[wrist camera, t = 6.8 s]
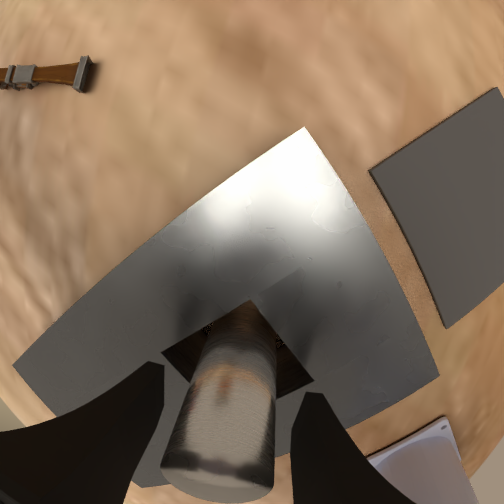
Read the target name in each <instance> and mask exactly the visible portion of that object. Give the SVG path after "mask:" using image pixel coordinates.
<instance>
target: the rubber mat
mask: <svg viewBox="0 0 504 504" xmlns="http://www.w3.org/2000/svg"><path fill="white" fill-rule="evenodd" d="M369 173H370V175H371V176H372V178H373V180H374V181H375V183H376V185H377V186H378V188H379V190H380V192H381V193H382V195H383V197H384V199H385V200H386V202H387V204H388V206H389V208H390V209H391V211H392V213H393V215H394V217H395V219H396V221H397V223H398V224H399V226H400V228H401V230H402V232H403V234H404V236H405V238H406V240H407V242H408V244H409V246H410V248H411V250H412V252H413V254H414V257H415V259H416V261H417V263H418V265H419V267H420V269H421V272H422V274H423V276H424V278H425V281H426V283H427V285H428V288H429V290H430V292H431V295H432V297H433V300H434V302H435V305H436V307H437V310H438V312H439V315H440V317H441V320H442V322H443V325H444V327H445V328H446V329H448V328H449V327H450V326H452V325H453V324H454V323H456V322H457V321H458V320H460V319H461V318H462V317H464V316H465V315H466V314H467V313H469V312H470V311H471V310H472V309H474V308H475V307H476V306H477V305H478V304H480V303H481V302H482V301H483V300H484V299H485V298H487V297H488V296H489V295H490V294H491V293H492V292H494V291H495V290H496V289H497V288H498V287H499V286H500V285H501V284H502V283H504V98H503V96H502V94H501V93H500V91H499V89H498V87H495V88H493V89H491V90H490V91H488V92H487V93H485V94H484V95H482V96H481V97H479V98H477V99H476V100H474V101H473V102H471V103H470V104H468V105H467V106H465V107H464V108H462V109H461V110H459V111H458V112H456V113H455V114H453V115H452V116H450V117H449V118H447V119H446V120H444V121H443V122H441V123H440V124H438V125H437V126H435V127H433V128H432V129H430V130H429V131H427V132H426V133H424V134H423V135H421V136H420V137H418V138H417V139H415V140H414V141H412V142H411V143H409V144H408V145H406V146H405V147H403V148H402V149H400V150H399V151H397V152H396V153H394V154H393V155H391V156H390V157H388V158H387V159H385V160H384V161H382V162H381V163H379V164H378V165H376V166H375V167H373V168H372V169H370V170H369Z"/></svg>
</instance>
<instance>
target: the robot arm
mask: <svg viewBox="0 0 504 504" xmlns="http://www.w3.org/2000/svg"><path fill="white" fill-rule="evenodd" d="M164 376H165V365H162V364H158V363H154V362H151V361H147V362H146V363H144V364H143V365H142V366H140V367H139V368H138V369H137V370H135V371H134V372H133V373H131V374H130V375H129V376H127V377H126V378H125V379H123V380H122V381H121V382H119V383H118V384H116V385H115V386H113V387H112V388H110V389H109V390H108V391H106V392H104V393H103V394H101V395H100V396H98V397H96V398H95V399H93V400H91V401H90V402H88V403H86V404H84V405H83V406H81V407H79V408H77V409H75V410H73V411H71V412H68V413H66V414H64V415H62V416H59V417H56V418H54V419H51V420H48V421H45V422H42V423H40V424H36V425H33V426H29V427H25V428H20V429H16V430H10V431H4V432H0V504H123V502H124V499H125V496H126V493H127V490H128V487H129V484H130V481H131V479H132V477H133V474H134V472H135V470H136V468H137V466H138V464H139V462H140V460H141V458H142V456H143V454H144V452H145V450H146V448H147V446H148V444H149V442H150V440H151V438H152V436H153V434H154V432H155V430H156V428H157V425H158V422H159V420H160V417H161V414H162V411H163V408H164ZM290 459H291V473H292V486H293V500H294V504H479V502H478V500H477V497H476V495H475V493H474V490H473V488H472V486H471V484H470V481H469V479H468V477H467V475H466V473H465V470H464V468H463V466H462V464H461V462H460V461H461V457H460V454H459V451H458V448H457V444H456V441H455V438H454V435H453V432H452V430H451V427H450V424H449V421H448V419H447V417H441V418H440V419H438V420H436V421H435V422H433V423H432V424H430V425H428V426H427V427H425V428H423V429H422V430H420V431H418V432H416V433H415V434H413V435H411V436H409V437H407V438H406V439H404V440H402V441H400V442H398V443H396V444H394V445H392V446H390V447H388V448H386V449H384V450H382V451H380V452H378V453H376V454H374V455H372V456H370V457H368V458H366V457H365V456H364V455H363V454H362V452H361V451H360V450H359V449H358V447H357V446H356V445H355V443H354V442H353V440H352V439H351V437H350V436H349V435H348V433H347V432H346V430H345V429H344V427H343V426H342V424H341V422H340V421H339V419H338V418H337V416H336V414H335V413H334V411H333V409H332V408H331V406H330V404H329V403H328V401H327V399H326V398H325V396H324V394H323V393H315V392H306V393H305V395H304V398H303V401H302V403H301V406H300V408H299V411H298V413H297V416H296V419H295V421H294V424H293V426H292V428H291V444H290Z"/></svg>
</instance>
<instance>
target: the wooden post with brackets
mask: <svg viewBox="0 0 504 504" xmlns="http://www.w3.org/2000/svg"><path fill="white" fill-rule="evenodd" d="M92 63H93V62H92V61H91V59H90V57H89V56H84V57H83V56H81V59H80V62H78V63H72V64H66V65H56V66H48V67H37V66H36V65H30V66H21V65H17V67H16V66H14V65H9V67H8V68H0V89H7V88H8V84H9V86H11V87H12V86H13V89H15V90H18V91H20V88H29V89H32V86H37V85H38V84H39V82H50V83H58V84H66V85H72V86H73V88H74V89H75V90H76V91H78V92H79V93H80V92H82V93H84V92H83V88H84V84H85V80H86V77H87V73H88V70H89V66H90V64H92Z"/></svg>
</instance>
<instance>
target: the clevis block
mask: <svg viewBox="0 0 504 504" xmlns="http://www.w3.org/2000/svg"><path fill="white" fill-rule="evenodd" d="M249 299H251V300H252V302H253V303H254V304H255V306H256V307H257V308H258V310H259V311H260V312H261V313H262V315H263V316H264V317H265V319H266V320H267V321H268V322H269V324H270V325H271V326H272V328H273V329H274V330H275V331H276V333H277V334H278V335H279V337H280V338H281V339H282V340H283V342H284V343H285V344H286V345H284V346H282V347H280V348H278V349H277V350H276V423H275V458H276V457H279V456H281V455H284V454H287V453H290V444H291V428H292V426H293V424H294V421H295V419H296V416H297V413H298V411H299V408H300V406H301V403H302V401H303V398H304V395H305V393H306V392H315V393H323V394H324V396H325V398H326V399H327V401H328V403H329V404H330V406H331V408H332V409H333V411H334V413H335V414H336V416H337V418H338V419H339V421H340V422H341V424H342V426H343V427H344V429H347V428H349V427H351V426H354V425H356V424H358V423H360V422H362V421H364V420H366V419H368V418H370V417H371V416H373V415H375V414H377V413H379V412H381V411H383V410H385V409H386V408H388V407H390V406H392V405H393V404H395V403H397V402H399V401H400V400H402V399H404V398H405V397H407V396H409V395H410V394H412V393H414V392H415V391H417V390H419V389H420V388H422V387H423V386H425V385H426V384H428V383H429V382H431V381H432V380H434V379H435V378H437V377H438V376H440V374H439V372H438V369H437V367H436V364H435V362H434V359H433V357H432V354H431V352H430V349H429V347H428V345H427V342H426V340H425V338H424V335H423V333H422V331H421V328H420V326H419V324H418V322H417V319H416V317H415V315H414V313H413V311H412V309H411V307H410V304H409V302H408V300H407V298H406V296H405V294H404V292H403V290H402V288H401V286H400V284H399V282H398V280H397V278H396V276H395V274H394V272H393V270H392V268H391V266H390V264H389V263H388V261H387V259H386V257H385V255H384V253H383V251H382V249H381V248H380V246H379V244H378V242H377V240H376V239H375V237H374V235H373V233H372V231H371V230H370V228H369V226H368V225H367V223H366V221H365V219H364V218H363V216H362V214H361V213H360V211H359V209H358V208H357V206H356V204H355V203H354V201H353V199H352V198H351V196H350V194H349V193H348V191H347V190H346V188H345V186H344V185H343V183H342V182H341V180H340V179H339V177H338V175H337V174H336V172H335V171H334V169H333V168H332V166H331V165H330V163H329V162H328V160H327V159H326V157H325V156H324V154H323V153H322V151H321V150H320V148H319V147H318V146H317V144H316V143H315V141H314V140H313V138H312V137H311V136H310V134H309V133H308V131H307V130H306V129H305V127H303V128H302V129H300V130H299V131H297V132H296V133H294V134H292V135H291V136H289V137H288V138H286V139H285V140H283V141H282V142H280V143H279V144H277V145H276V146H274V147H273V148H271V149H270V150H269V151H267V152H266V153H264V154H263V155H261V156H260V157H258V158H257V159H255V160H254V161H253V162H251V163H250V164H248V165H247V166H245V167H244V168H243V169H241V170H240V171H238V172H237V173H236V174H234V175H233V176H231V177H230V178H229V179H227V180H226V181H224V182H223V183H222V184H220V185H219V186H218V187H216V188H215V189H214V190H212V191H211V192H210V193H208V194H207V195H205V196H204V197H203V198H201V199H200V200H199V201H198V202H196V203H195V204H194V205H192V206H191V207H190V208H188V209H187V210H186V211H184V212H183V213H182V214H181V215H179V216H178V217H177V218H175V219H174V220H173V221H172V222H170V223H169V224H168V225H167V226H165V227H164V228H163V229H161V230H160V231H159V232H158V233H156V234H155V235H154V236H153V237H152V238H150V239H149V240H148V241H147V242H145V243H144V244H143V245H142V246H141V247H139V248H138V249H137V250H136V251H134V252H133V253H132V254H131V255H130V256H129V257H127V258H126V259H125V260H124V261H123V262H121V263H120V264H119V265H118V266H117V267H116V268H114V269H113V270H112V271H111V272H110V273H109V274H107V275H106V276H105V277H104V278H103V279H102V280H101V281H99V282H98V283H97V284H96V285H95V286H94V287H93V288H92V289H90V290H89V291H88V292H87V293H86V294H85V295H84V296H83V297H82V298H80V299H79V300H78V301H77V302H76V303H75V304H74V305H73V306H72V307H71V308H70V309H69V310H67V311H66V312H65V313H64V314H63V315H62V316H61V317H60V318H59V319H58V320H57V321H56V322H55V323H54V324H53V325H52V326H51V327H50V328H49V329H48V330H47V331H45V332H44V333H43V334H42V335H41V336H40V337H39V338H38V339H37V340H36V341H35V342H34V343H33V344H32V345H31V346H30V347H29V348H28V349H27V350H26V351H25V352H24V354H23V355H22V356H21V357H20V358H19V359H18V360H17V361H16V362H15V363H14V364H13V365H12V366H13V367H14V368H15V369H16V371H17V372H18V373H19V374H20V376H21V377H22V378H23V379H24V381H25V382H26V383H27V384H28V385H29V387H30V388H31V389H32V390H33V391H34V392H35V394H36V395H37V396H38V397H39V398H40V399H41V400H42V401H43V403H44V404H45V405H46V406H47V407H48V408H49V409H50V410H51V411H52V412H53V413H54V414H55V415H56V416H57V417H59V416H62V415H64V414H66V413H68V412H71V411H73V410H75V409H77V408H79V407H81V406H83V405H84V404H86V403H88V402H90V401H91V400H93V399H95V398H96V397H98V396H100V395H101V394H103V393H104V392H106V391H108V390H109V389H110V388H112V387H113V386H115V385H116V384H118V383H119V382H121V381H122V380H123V379H125V378H126V377H127V376H129V375H130V374H131V373H133V372H134V371H135V370H137V369H138V368H139V367H140V366H142V365H143V364H144V363H146V362H147V361H151V362H154V363H158V364H162V365H165V376H164V408H163V411H162V414H161V417H160V420H159V422H158V425H157V428H156V430H155V432H154V434H153V436H152V438H151V440H150V442H149V444H148V446H147V448H146V450H145V452H144V454H143V456H142V458H141V460H140V462H139V464H138V466H137V468H136V470H135V472H134V474H133V477H132V479H131V481H133V482H134V483H135V484H137V485H138V486H140V487H141V488H145V487H153V486H160V485H167V484H171V483H169V482H168V481H167V480H166V478H165V477H164V476H163V474H162V472H161V469H160V464H161V461H162V458H163V455H164V452H165V450H166V447H167V444H168V442H169V439H170V436H171V433H172V431H173V428H174V425H175V423H176V420H177V417H178V415H179V412H180V409H181V406H182V404H183V401H184V398H185V396H186V393H187V390H188V388H189V385H190V382H191V380H192V377H193V374H194V372H195V369H196V367H197V364H198V361H199V359H200V356H201V353H202V351H203V348H204V345H205V343H206V340H207V338H208V336H207V335H206V334H205V333H204V332H203V331H202V329H201V328H203V327H205V326H206V325H208V324H210V323H211V322H213V321H215V320H216V319H218V318H220V317H221V316H223V315H225V314H226V313H228V312H230V311H231V310H233V309H235V308H236V307H238V306H240V305H241V304H243V303H244V302H246V301H248V300H249Z"/></svg>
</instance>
